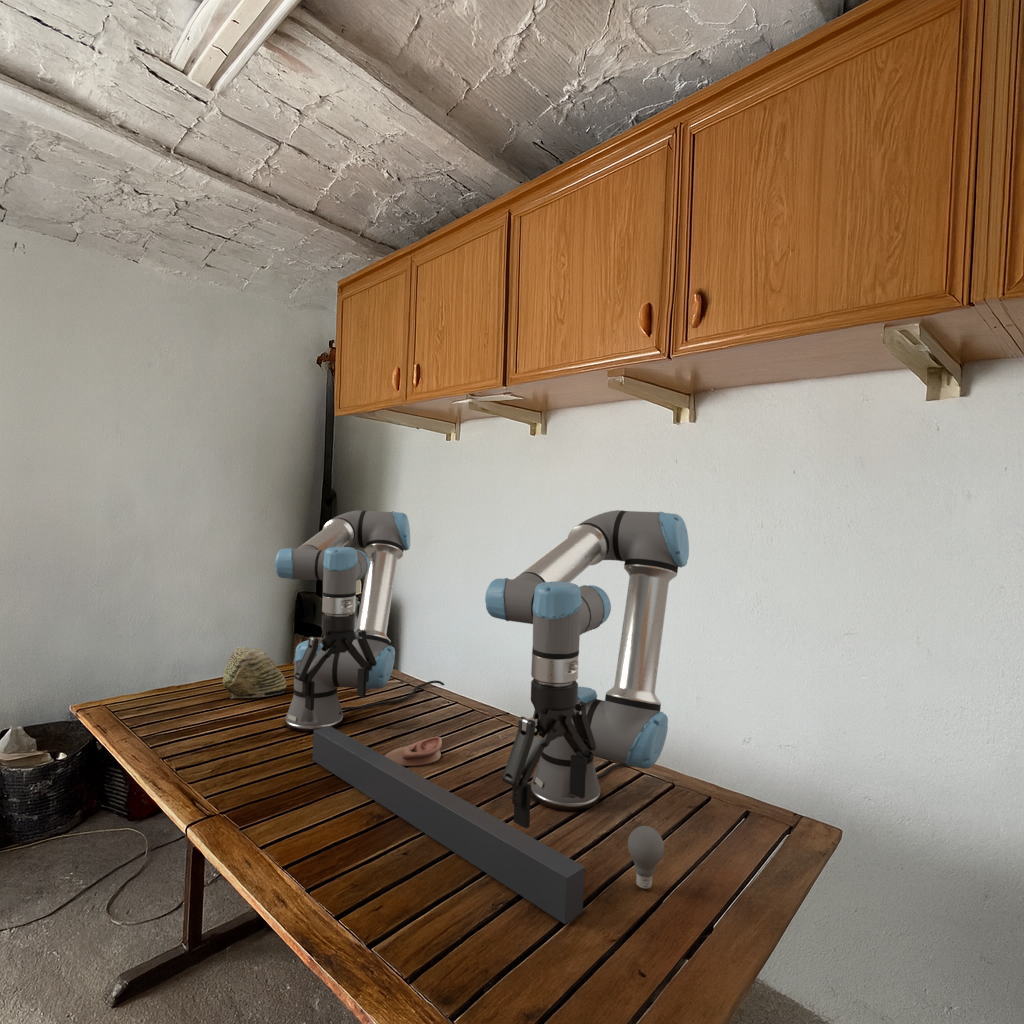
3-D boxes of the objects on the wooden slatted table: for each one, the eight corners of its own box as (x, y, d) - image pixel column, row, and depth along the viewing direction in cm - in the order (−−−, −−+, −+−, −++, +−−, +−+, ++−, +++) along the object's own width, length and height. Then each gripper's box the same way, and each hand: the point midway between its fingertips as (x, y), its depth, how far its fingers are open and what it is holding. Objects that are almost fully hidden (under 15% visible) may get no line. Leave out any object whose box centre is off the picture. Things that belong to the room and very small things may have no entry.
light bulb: (621, 876, 110) (624, 818, 109) (655, 875, 110) (658, 819, 110) (631, 897, 104) (634, 837, 103) (666, 897, 104) (669, 837, 104)
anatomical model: (378, 746, 151) (397, 729, 163) (378, 762, 151) (396, 745, 163) (431, 753, 149) (446, 735, 160) (431, 770, 149) (445, 751, 160)
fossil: (218, 695, 195) (220, 647, 195) (278, 685, 208) (279, 640, 207) (228, 703, 189) (230, 653, 188) (289, 692, 201) (290, 645, 201)
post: (312, 760, 152) (313, 729, 152) (328, 755, 155) (330, 725, 155) (564, 924, 97) (567, 877, 97) (582, 912, 100) (585, 866, 100)
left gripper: (296, 623, 137) (293, 719, 138) (392, 610, 155) (389, 695, 156) (280, 616, 142) (278, 709, 143) (375, 604, 160) (372, 687, 161)
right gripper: (517, 703, 90) (512, 849, 91) (619, 670, 108) (615, 792, 109) (481, 690, 95) (477, 828, 96) (584, 660, 113) (580, 776, 114)
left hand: (336, 702), depth 149 cm, fingers open, 13 cm apart
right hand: (550, 809), depth 102 cm, fingers open, 13 cm apart
